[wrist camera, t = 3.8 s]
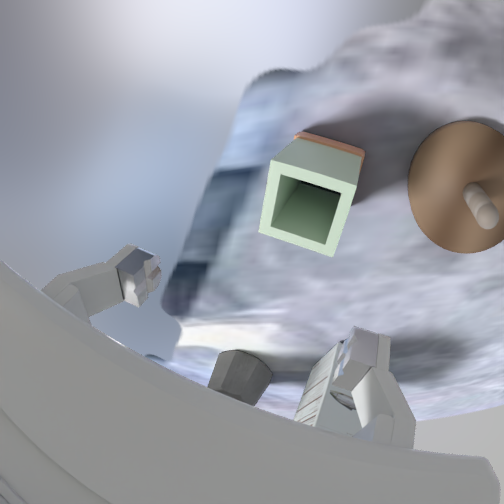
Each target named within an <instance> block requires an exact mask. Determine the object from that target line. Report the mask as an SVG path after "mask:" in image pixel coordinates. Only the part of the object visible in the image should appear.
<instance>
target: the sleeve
mask: <svg viewBox="0 0 504 504" xmlns="http://www.w3.org/2000/svg"><path fill="white" fill-rule="evenodd" d="M364 157H365V151H363V149H361V148H358V147H354V146H351V145H348V144H345V143H342V142H338V141H335V140H332V139H328V138H325V137H321V136H318V135H314V134H311V133H307V132H303V131H302V132H299V133H297V134H296V135H295V136H294V140H293V141H292V142H291V143H290V144H289V145H288V146H286V147H285V148H284V149H283V150H282V151H281V152H279V153H278V154H277V155H276V156H275V157H274V158H272V159H271V163H270V168H269V174H268V180H267V186H266V192H265V197H264V203H263V209H262V215H261V220H260V226H259V233H262V234H265V235H268V236H271V237H274V238H277V239H280V240H283V241H286V242H289V243H292V244H295V245H298V246H301V247H304V248H307V249H310V250H313V251H316V252H318V253H321V254H324V255H327V256H330V257H333V255H334V252H335V250H336V247H337V244H338V241H339V239H340V236H341V233H342V230H343V227H344V224H345V221H346V218H347V215H348V212H349V209H350V206H351V203H352V200H353V197H354V194H355V191H356V188H357V183H358V177H359V174H360V171H361V167H362V164H363V161H364ZM301 180H302V181H305V182H309V183H312V184H315V185H318V186H321V187H325V188H328V189H331V190H334V191H337V192H340V193H341V195H338V194H335V193H332V192H328V191H325V190H322V189H319V188H316V187H313V186H310V185H306V184H303V183H300V181H301Z"/></svg>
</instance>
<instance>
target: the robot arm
mask: <svg viewBox="0 0 504 504" xmlns="http://www.w3.org/2000/svg"><path fill="white" fill-rule="evenodd" d="M159 264H160V257H159V256H158V255H156V254H154V253H152V252H150V251H147V250H145V249H143V248H141V247H138V246H135V245H133V244H127V245H126V246H125V247H124V248H122V249H121V250H120V251H119V252H118V253H117V254H115V255H114V256H113V257H112V258H111V259H110V260H109V261H107V262H106V263H104V262H102V263H98V264H94V265H91V266H87V267H84V268H80V269H77V270H73V271H70V272H66V273H63V274H60V275H58V276H57V277H55V278H54V279H53V280H52V281H51V282H50V283H48V284H47V285H46V286H45V287H44V288H43V289H42V290H41V291H40V290H39V289H38V288H36V287H35V286H34V285H32V284H31V283H30V282H28V281H27V280H26V279H24V278H23V277H22V276H21V275H19V274H18V273H17V272H16V271H15V270H13V269H12V268H11V267H10V266H9V265H7V264H6V263H5V262H4V261H2V260H1V259H0V504H499V501H500V483H499V481H498V478H497V476H496V474H495V472H494V470H493V467H492V466H491V464H490V462H489V461H488V459H487V458H485V457H481V456H468V455H455V454H445V453H436V452H429V451H421V450H414V449H413V445H414V435H415V426H416V420H415V417H414V415H413V413H412V411H411V409H410V407H409V405H408V403H407V401H406V399H405V397H404V395H403V393H402V391H401V389H400V387H399V385H398V383H397V381H396V379H395V377H394V375H393V374H392V372H389V361H390V345H391V339H390V337H388V336H385V335H382V334H377V333H375V332H372V331H369V330H365V329H362V328H359V327H356V326H354V327H353V328H352V329H351V331H350V334H349V338H348V339H346V340H345V341H344V343H343V345H342V347H341V350H340V352H339V356H338V360H337V362H338V367H337V368H336V370H335V373H334V377H333V381H332V385H334V386H337V387H340V388H343V389H346V390H349V391H352V392H351V394H352V397H353V400H354V403H355V406H356V410H357V413H358V416H359V419H360V423H361V426H362V429H361V430H359V431H358V432H357V433H356V434H354V435H353V436H352V437H350V436H346V435H342V434H338V433H335V432H331V431H327V430H324V429H320V428H317V427H313V426H310V425H307V424H303V423H300V422H297V421H294V420H291V419H288V418H285V417H282V416H279V415H276V414H273V413H270V412H268V411H265V410H262V409H259V408H257V407H254V406H251V405H249V404H246V403H244V402H241V401H239V400H236V399H234V398H231V397H229V396H226V395H224V394H222V393H219V392H217V391H215V390H212V389H210V388H208V387H205V386H203V385H201V384H199V383H197V382H194V381H192V380H190V379H188V378H186V377H184V376H182V375H180V374H178V373H175V372H173V371H171V370H169V369H167V368H165V367H163V366H161V365H159V364H158V363H156V362H154V361H152V360H150V359H148V358H146V357H144V356H142V355H140V354H139V353H137V352H135V351H133V350H132V349H130V348H128V347H126V346H124V345H123V344H120V343H119V342H118V341H116V340H114V339H112V338H110V337H109V336H107V335H106V334H104V333H102V332H101V331H99V330H98V329H96V328H94V327H93V326H92V325H91V322H90V320H89V317H90V316H92V315H94V314H97V313H99V312H101V311H103V310H105V309H108V308H110V307H112V306H114V305H117V304H119V303H121V302H123V301H126V302H128V303H131V304H133V305H135V306H137V307H140V306H141V305H142V304H143V303H144V302H145V301H146V299H147V298H148V293H149V292H153V291H154V290H155V289H156V288H157V287H158V285H159V283H160V280H161V270H160V268H159V267H158V265H159Z"/></svg>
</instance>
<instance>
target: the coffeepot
mask: <svg viewBox="0 0 504 504" xmlns="http://www.w3.org/2000/svg"><path fill="white" fill-rule="evenodd" d="M272 375H273V374H272V373H271V371H270V369H269V368H268V367H267V365H266V364H265V363H263V362H262V361H261V360H259V359H258V358H256V357H254V356H252V355H250V354H248V353H245V352H241V351H236V350H229V351H225V352H223V353H219V356H218V359H217V362H216V364H215V367H214V370H213V373H212V376H211V378H210V381H209V384H208V388H210V389H212V390H215V391H217V392H219V393H222V394H224V395H226V396H229V397H231V398H234V399H236V400H239V401H241V402H244V403H246V404H249V405H251V406H255V404H256V403H257V401H258V400H259V399H260V397H261V396H262V394H263V393H264V391H265V390H266V388H267V387H268V385H269V383H270V380H271V378H272Z"/></svg>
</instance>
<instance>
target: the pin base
mask: <svg viewBox="0 0 504 504" xmlns="http://www.w3.org/2000/svg"><path fill="white" fill-rule="evenodd" d="M408 196H409V200H410V205H411V209H412V212H413V215H414V218H415V220H416V222H417V224H418V226H419V227H420V229H421V230H422V231H423V233H424V234H425V235H426V236H427V237H428V238H429V239H430V240H431V241H432V242H434V243H435V244H437V245H438V246H440V247H442V248H444V249H446V250H449V251H452V252H457V253H476V252H481V251H484V250H487V249H489V248H491V247H493V246H495V245H497V244H498V243H500V242H501V241H502V240H504V136H503V135H502V134H501V133H499V132H498V131H496V130H494V129H493V128H491V127H489V126H486V125H484V124H481V123H478V122H473V121H457V122H452V123H449V124H446V125H444V126H442V127H440V128H438V129H436V130H435V131H434V132H432V133H431V134H430V135H429V136H428V137H427V138H426V139H425V140H424V141H423V142H422V144H421V145H420V146H419V148H418V149H417V151H416V153H415V155H414V157H413V160H412V162H411V166H410V169H409V175H408Z"/></svg>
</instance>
